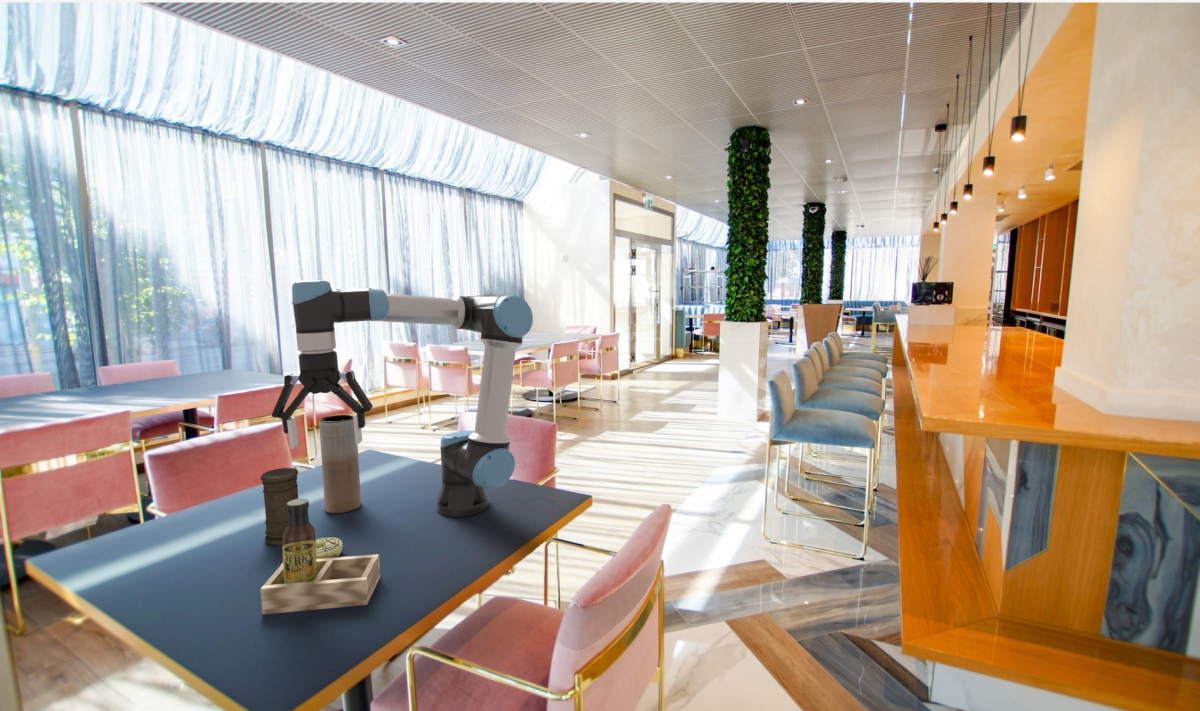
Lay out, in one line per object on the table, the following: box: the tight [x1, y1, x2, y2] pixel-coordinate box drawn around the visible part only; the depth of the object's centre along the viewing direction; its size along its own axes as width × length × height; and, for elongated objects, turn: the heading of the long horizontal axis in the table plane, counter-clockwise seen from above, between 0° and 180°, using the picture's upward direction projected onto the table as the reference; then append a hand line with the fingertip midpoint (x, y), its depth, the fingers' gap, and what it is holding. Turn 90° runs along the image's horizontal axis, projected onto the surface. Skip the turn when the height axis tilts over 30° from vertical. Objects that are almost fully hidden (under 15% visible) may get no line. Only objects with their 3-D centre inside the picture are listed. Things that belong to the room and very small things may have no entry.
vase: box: [318, 413, 362, 514], centre depth 159 cm, size 10×10×28 cm
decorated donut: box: [315, 536, 344, 559], centre depth 130 cm, size 10×11×4 cm
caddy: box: [260, 553, 381, 615], centre depth 114 cm, size 20×11×6 cm, turn 99°
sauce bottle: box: [281, 498, 317, 584], centre depth 112 cm, size 6×6×20 cm
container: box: [260, 467, 299, 546], centre depth 140 cm, size 9×9×18 cm
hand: (326, 444), depth 119 cm, fingers open, 13 cm apart
